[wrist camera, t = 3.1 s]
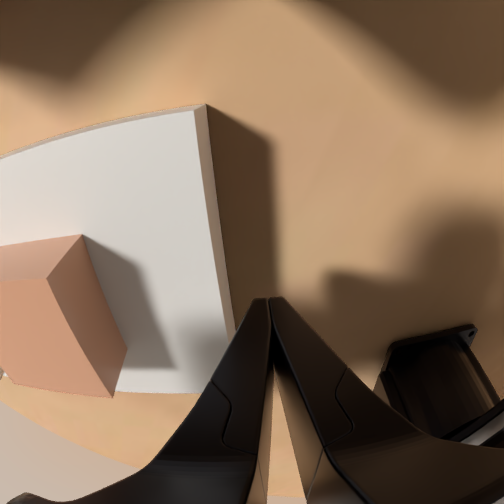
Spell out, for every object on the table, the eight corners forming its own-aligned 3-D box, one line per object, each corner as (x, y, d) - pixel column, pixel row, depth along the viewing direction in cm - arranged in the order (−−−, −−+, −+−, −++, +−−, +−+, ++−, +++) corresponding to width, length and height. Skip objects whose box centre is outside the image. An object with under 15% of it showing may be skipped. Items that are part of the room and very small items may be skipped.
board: (206, 103, 10) (193, 110, 7) (237, 342, 15) (238, 391, 13) (-66, 186, 10) (-100, 209, 7) (2, 339, 15) (-16, 371, 13)
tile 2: (82, 233, 9) (46, 278, 7) (127, 349, 11) (112, 398, 9) (-15, 248, 9) (-50, 284, 7) (34, 344, 11) (14, 383, 9)
